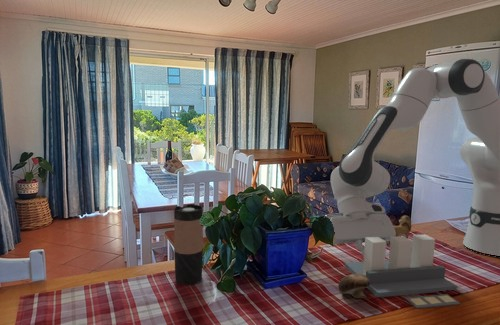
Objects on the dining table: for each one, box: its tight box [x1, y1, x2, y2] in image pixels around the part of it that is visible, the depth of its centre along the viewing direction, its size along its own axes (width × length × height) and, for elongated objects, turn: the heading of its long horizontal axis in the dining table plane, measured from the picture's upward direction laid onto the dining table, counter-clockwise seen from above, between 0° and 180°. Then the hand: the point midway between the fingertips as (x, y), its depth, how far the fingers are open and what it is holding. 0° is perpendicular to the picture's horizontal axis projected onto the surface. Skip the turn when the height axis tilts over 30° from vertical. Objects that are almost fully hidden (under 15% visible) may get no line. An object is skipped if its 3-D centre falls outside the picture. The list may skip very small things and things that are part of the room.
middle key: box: [388, 235, 413, 269], centre depth 96 cm, size 4×4×10 cm
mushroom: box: [337, 273, 370, 299], centre depth 87 cm, size 8×8×6 cm
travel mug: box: [173, 204, 204, 286], centre depth 93 cm, size 8×8×20 cm
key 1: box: [363, 237, 387, 274], centre depth 95 cm, size 4×4×10 cm
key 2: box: [410, 234, 436, 268], centre depth 98 cm, size 4×4×10 cm
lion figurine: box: [386, 215, 412, 247], centre depth 125 cm, size 15×5×9 cm, turn 134°
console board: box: [344, 259, 458, 298], centre depth 97 cm, size 23×18×4 cm
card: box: [404, 293, 461, 310], centre depth 85 cm, size 12×4×1 cm, turn 101°
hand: (369, 255), depth 98 cm, fingers closed
